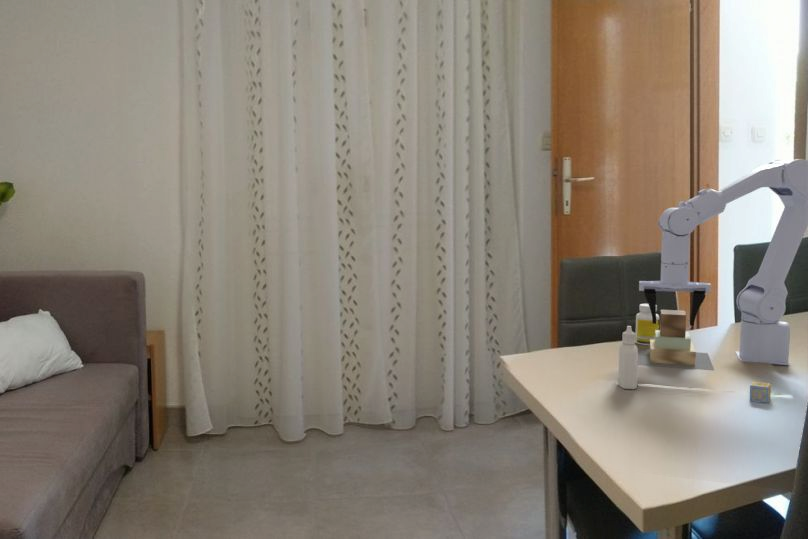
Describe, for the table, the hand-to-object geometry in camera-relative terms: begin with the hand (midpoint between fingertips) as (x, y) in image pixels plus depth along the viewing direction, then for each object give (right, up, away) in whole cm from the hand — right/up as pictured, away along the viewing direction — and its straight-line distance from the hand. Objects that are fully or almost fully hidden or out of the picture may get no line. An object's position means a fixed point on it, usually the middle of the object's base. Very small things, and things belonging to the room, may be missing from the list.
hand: (672, 323), depth 146 cm
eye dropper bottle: (-15, -11, -15) cm, 24 cm away
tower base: (0, -8, +1) cm, 8 cm away
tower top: (0, -5, +1) cm, 5 cm away
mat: (0, -8, +1) cm, 8 cm away
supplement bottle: (0, -7, +16) cm, 17 cm away
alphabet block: (+6, -12, -25) cm, 28 cm away
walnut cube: (0, -2, 0) cm, 2 cm away
